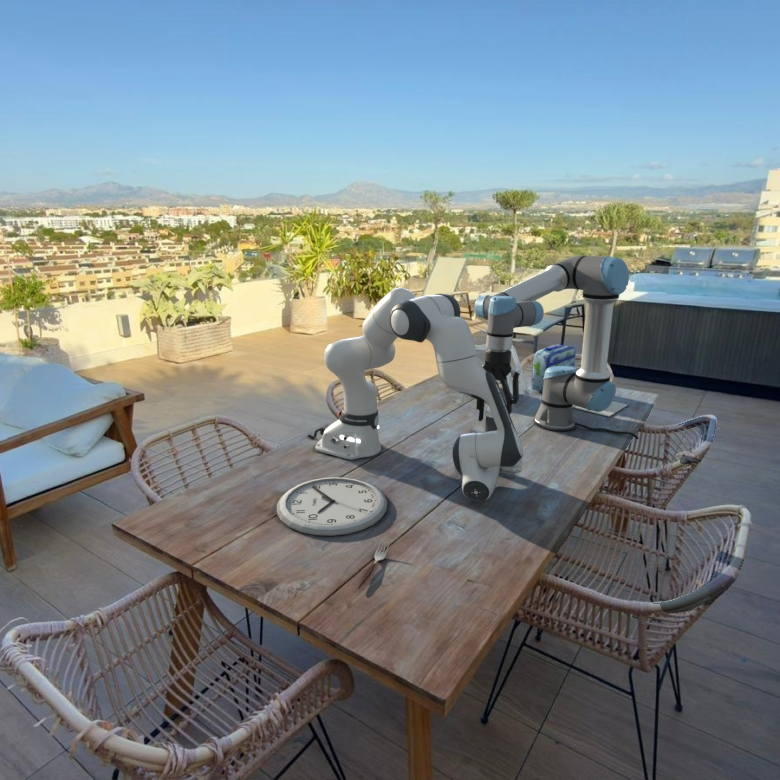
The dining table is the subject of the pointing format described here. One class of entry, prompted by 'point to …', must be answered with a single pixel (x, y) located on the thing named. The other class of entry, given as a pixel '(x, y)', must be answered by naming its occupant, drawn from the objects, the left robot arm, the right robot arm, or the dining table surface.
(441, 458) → the dining table surface
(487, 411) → the cream round lid
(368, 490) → the wall clock
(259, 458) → the dining table surface
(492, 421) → the dark grey cylinder
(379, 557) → the fork
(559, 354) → the lunch box
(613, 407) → the invitation card
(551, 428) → the right robot arm
